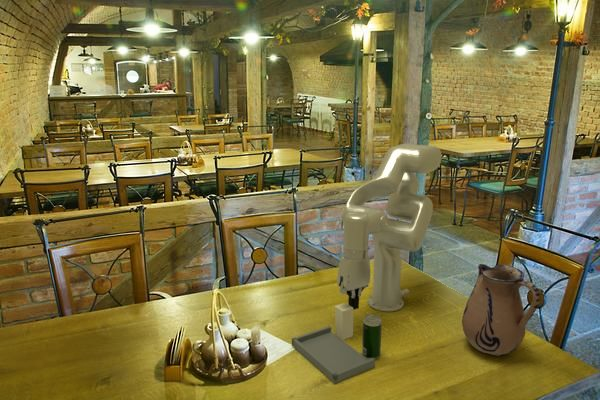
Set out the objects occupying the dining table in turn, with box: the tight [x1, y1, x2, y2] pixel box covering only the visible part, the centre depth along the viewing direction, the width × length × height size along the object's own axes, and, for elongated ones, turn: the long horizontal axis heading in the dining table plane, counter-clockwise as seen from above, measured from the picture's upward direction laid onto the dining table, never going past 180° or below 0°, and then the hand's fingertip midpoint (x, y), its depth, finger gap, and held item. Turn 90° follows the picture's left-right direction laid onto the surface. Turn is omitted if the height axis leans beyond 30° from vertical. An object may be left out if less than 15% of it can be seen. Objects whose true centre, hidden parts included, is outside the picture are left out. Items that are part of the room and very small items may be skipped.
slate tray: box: [291, 325, 376, 384], centre depth 143 cm, size 14×22×2 cm, turn 32°
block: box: [334, 302, 354, 341], centre depth 153 cm, size 4×4×10 cm
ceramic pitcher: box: [461, 263, 541, 357], centre depth 143 cm, size 18×21×25 cm
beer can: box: [361, 313, 383, 360], centre depth 142 cm, size 5×5×12 cm
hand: (353, 307), depth 153 cm, fingers closed
